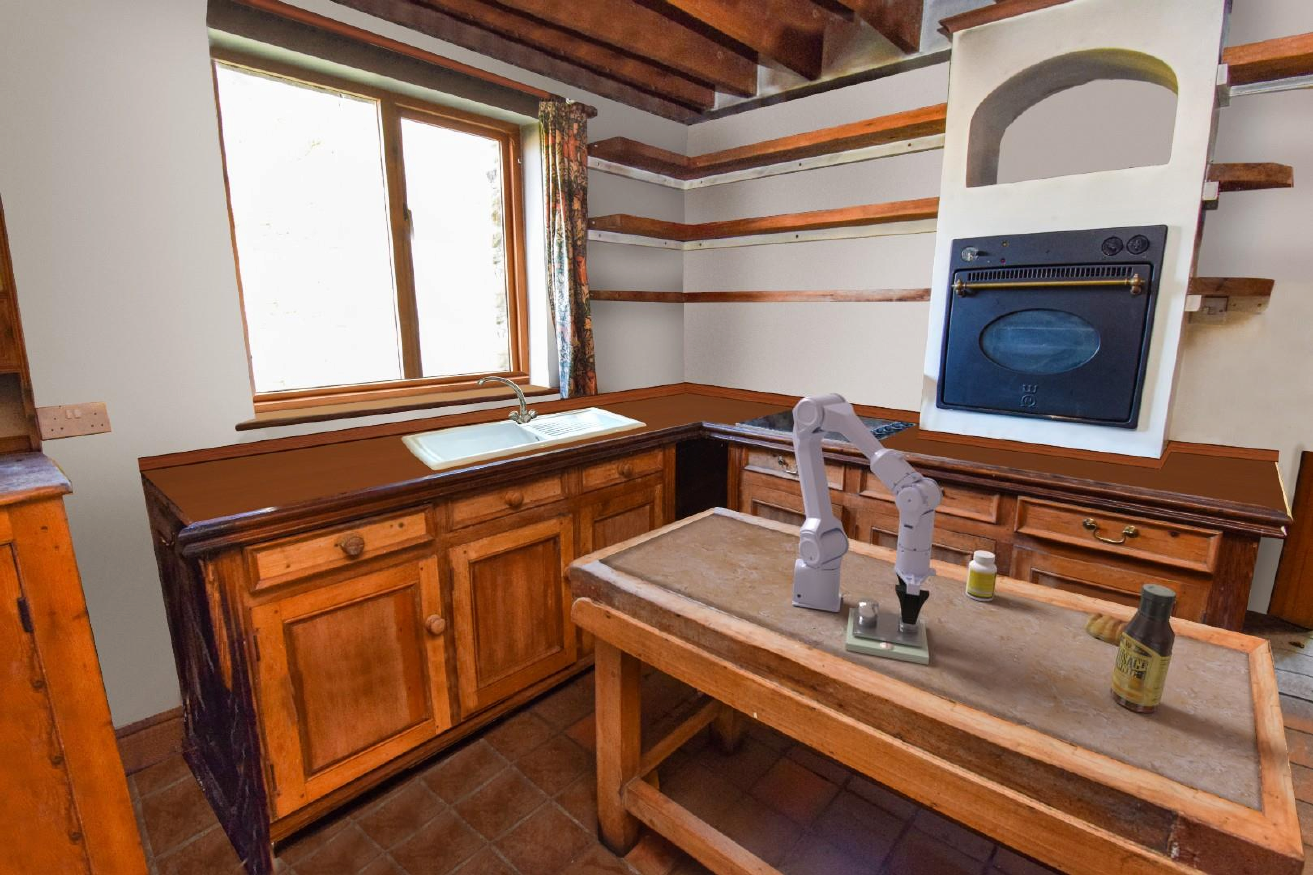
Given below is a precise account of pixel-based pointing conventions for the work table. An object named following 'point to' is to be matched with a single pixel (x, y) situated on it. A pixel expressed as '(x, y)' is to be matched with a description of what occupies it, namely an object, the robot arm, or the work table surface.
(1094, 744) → the work table surface
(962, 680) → the work table surface
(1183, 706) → the work table surface
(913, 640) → the scale platform
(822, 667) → the work table surface
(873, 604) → the cylinder
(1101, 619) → the pastry
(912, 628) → the cylinder
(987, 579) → the supplement bottle
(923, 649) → the scale
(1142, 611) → the sauce bottle
